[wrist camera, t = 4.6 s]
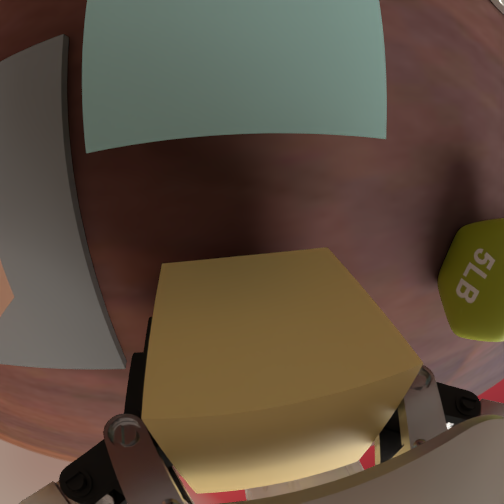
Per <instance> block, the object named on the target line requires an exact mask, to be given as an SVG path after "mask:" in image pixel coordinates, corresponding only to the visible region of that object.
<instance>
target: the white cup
mask: <svg viewBox="0 0 504 504" xmlns="http://www.w3.org/2000/svg"><path fill="white" fill-rule="evenodd" d="M363 470H364V469H363V467H362V465H361V463H360V462H359V460H358V461H357V462H354V463H351V464H348V465H346V466H343V467H340V468H336V469H333V470H330V471H327V472H323V473H320V474H316V475H313V476H309V477H305V478H301V479H297V480H292V481H288V482H283V483H278V484H273V485H268V486H262V487H256V488H249V489H245V493H246V498H247V500H254V499H260V498H266V497H272V496H277V495H282V494H286V493H291V492H295V491H299V490H303V489H307V488H311V487H315V486H318V485H322V484H325V483H328V482H332V481H335V480H338V479H341V478H344V477H347V476H350V475H353V474H355V473H358V472H361V471H363Z"/></svg>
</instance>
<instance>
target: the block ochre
mask: <svg viewBox="0 0 504 504" xmlns="http://www.w3.org/2000/svg"><path fill="white" fill-rule="evenodd" d="M422 365H423V362H422V361H421V359H420V358H419V357H418V355H417V354H416V353H415V352H414V350H413V349H412V348H411V346H410V345H409V344H408V343H407V341H406V340H405V339H404V337H403V336H402V335H401V334H400V332H399V331H398V330H397V329H396V327H395V326H394V325H393V324H392V322H391V321H390V320H389V319H388V317H387V316H386V315H385V314H384V313H383V311H382V310H381V309H380V308H379V307H378V305H377V304H376V303H375V302H374V301H373V299H372V298H371V297H370V296H369V295H368V293H367V292H366V291H365V290H364V289H363V288H362V286H361V285H360V284H359V283H358V282H357V281H356V279H355V278H354V277H353V276H352V275H351V274H350V272H349V271H348V270H347V269H346V268H345V267H344V266H343V264H342V263H341V262H340V261H339V260H338V259H337V258H336V257H335V255H334V254H333V253H332V252H331V251H330V250H329V249H328V248H327V247H326V248H316V249H306V250H296V251H286V252H276V253H266V254H256V255H246V256H235V257H225V258H215V259H204V260H194V261H184V262H173V263H163V264H162V266H161V271H160V276H159V282H158V287H157V293H156V299H155V305H154V311H153V317H152V324H151V331H150V338H149V346H148V353H147V362H146V371H145V380H144V391H143V403H142V417H141V419H142V421H143V422H144V424H145V425H146V427H147V428H148V430H149V432H150V433H151V435H152V436H153V437H154V439H155V440H156V442H157V443H158V445H159V446H160V448H161V449H162V450H163V452H164V453H165V455H166V456H167V457H168V459H169V460H170V461H171V463H172V464H173V465H174V467H175V468H176V469H177V471H178V472H179V473H180V474H181V476H182V477H183V478H184V479H185V481H186V482H187V483H188V484H189V485H190V486H191V488H192V489H193V490H194V491H195V492H196V493H211V492H224V491H234V490H241V489H249V488H256V487H262V486H268V485H273V484H278V483H283V482H288V481H292V480H297V479H301V478H305V477H309V476H313V475H316V474H320V473H323V472H327V471H330V470H333V469H336V468H340V467H343V466H346V465H348V464H351V463H354V462H357V461H358V460H359V459H360V458H361V457H362V455H363V454H364V453H365V452H366V450H367V449H368V448H369V447H370V445H371V444H372V443H373V441H374V440H375V439H376V437H377V436H378V435H379V433H380V432H381V431H382V429H383V428H384V426H385V425H386V424H387V422H388V421H389V419H390V418H391V416H392V415H393V413H394V412H395V410H396V409H397V407H398V406H399V404H400V403H401V401H402V399H403V398H404V396H405V395H406V393H407V391H408V390H409V388H410V386H411V385H412V383H413V381H414V379H415V378H416V376H417V374H418V372H419V371H420V369H421V367H422Z"/></svg>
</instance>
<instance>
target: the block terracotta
mask: <svg viewBox="0 0 504 504" xmlns="http://www.w3.org/2000/svg"><path fill="white" fill-rule="evenodd" d="M13 298H14V295H13V292H12V290H11V287H10V285H9V282H8V280H7V277H6V274H5V272H4V269H3V266H2V263H1V260H0V317H1V315H2V314H3V312H4V311H5V309H6V308H7V307H8V305H9V304H10V303H11V301H12V300H13Z"/></svg>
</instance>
